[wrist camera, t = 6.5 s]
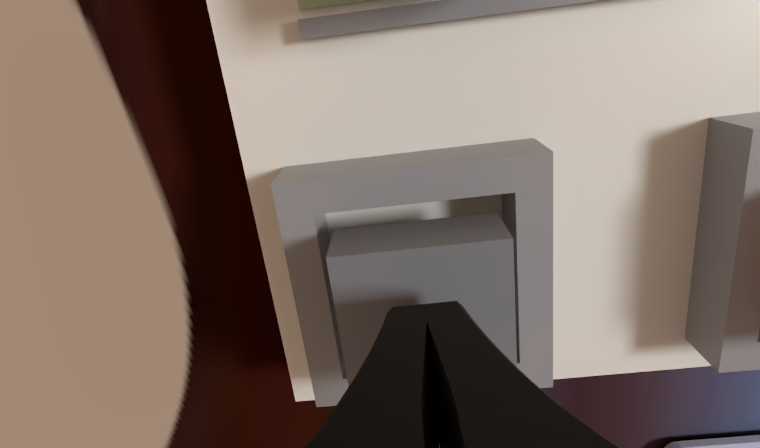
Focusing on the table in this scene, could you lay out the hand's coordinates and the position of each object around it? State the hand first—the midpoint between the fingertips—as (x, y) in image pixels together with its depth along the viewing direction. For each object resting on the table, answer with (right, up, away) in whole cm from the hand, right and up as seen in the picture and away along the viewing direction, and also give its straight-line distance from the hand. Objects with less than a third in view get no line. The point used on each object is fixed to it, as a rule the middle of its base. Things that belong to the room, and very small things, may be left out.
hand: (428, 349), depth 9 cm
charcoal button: (0, +1, +2) cm, 2 cm away
